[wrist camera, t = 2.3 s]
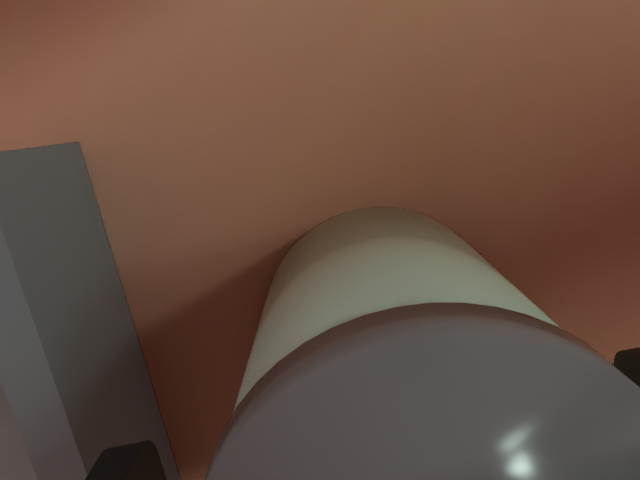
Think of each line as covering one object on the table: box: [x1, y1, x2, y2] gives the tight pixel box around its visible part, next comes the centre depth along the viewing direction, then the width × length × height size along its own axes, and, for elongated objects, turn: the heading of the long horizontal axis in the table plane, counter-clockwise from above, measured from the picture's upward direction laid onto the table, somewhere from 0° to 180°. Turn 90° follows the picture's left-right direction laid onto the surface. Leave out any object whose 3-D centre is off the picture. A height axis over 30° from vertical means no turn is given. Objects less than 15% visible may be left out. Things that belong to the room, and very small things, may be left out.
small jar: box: [205, 207, 640, 480], centre depth 10 cm, size 6×6×8 cm
